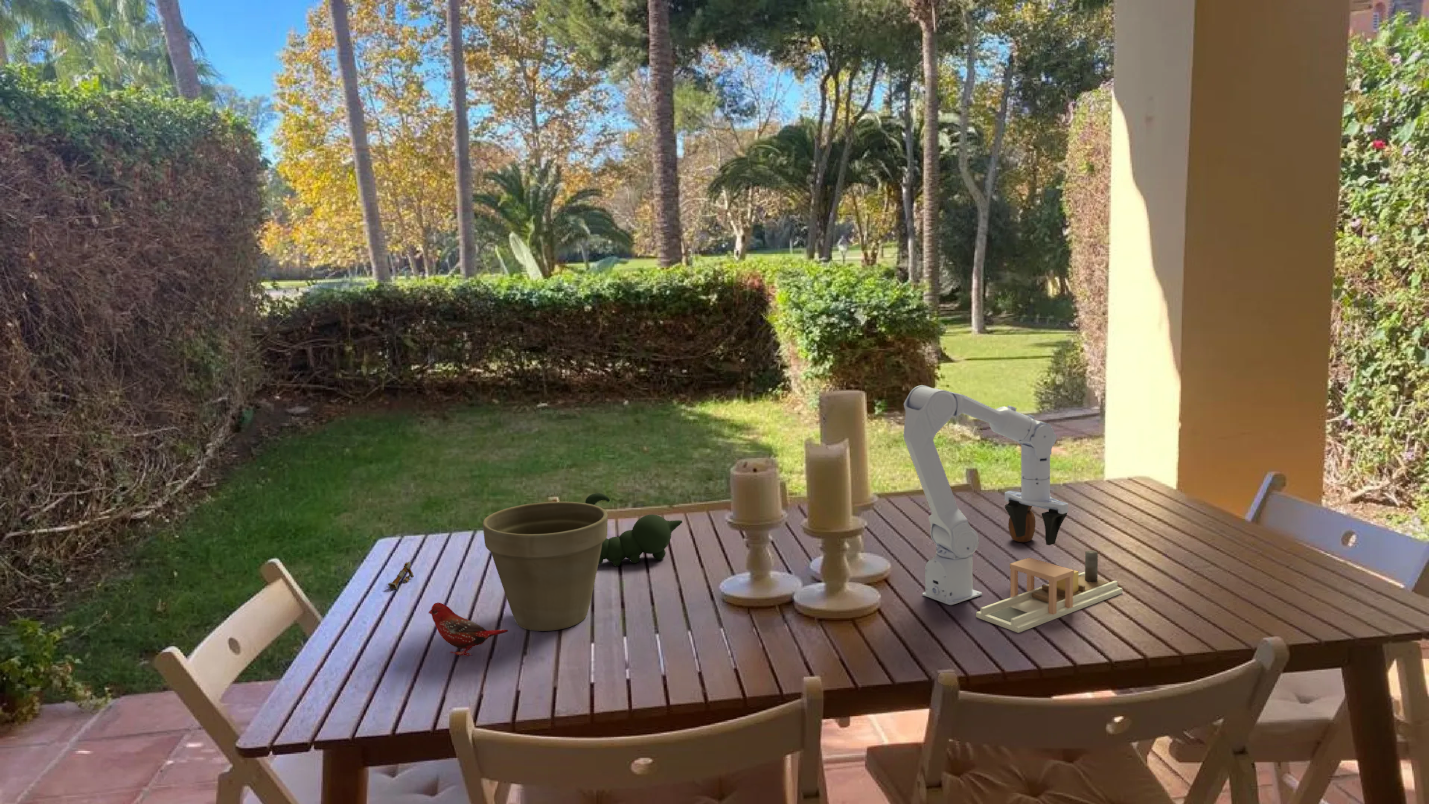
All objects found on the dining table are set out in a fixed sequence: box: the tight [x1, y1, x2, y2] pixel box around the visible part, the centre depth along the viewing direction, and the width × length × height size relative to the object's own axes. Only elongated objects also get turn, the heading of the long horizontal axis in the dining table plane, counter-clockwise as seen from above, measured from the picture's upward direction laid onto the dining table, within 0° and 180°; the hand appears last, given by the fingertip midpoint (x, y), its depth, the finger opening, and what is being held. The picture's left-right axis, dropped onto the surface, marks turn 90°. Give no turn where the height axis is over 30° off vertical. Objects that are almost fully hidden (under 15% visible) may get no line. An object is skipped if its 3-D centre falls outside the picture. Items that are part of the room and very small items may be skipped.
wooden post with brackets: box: [387, 561, 415, 590], centre depth 216 cm, size 2×8×4 cm, turn 163°
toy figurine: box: [584, 492, 683, 567], centre depth 223 cm, size 9×19×25 cm
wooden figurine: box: [1007, 506, 1037, 543], centre depth 225 cm, size 7×6×15 cm
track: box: [975, 557, 1123, 634], centre depth 184 cm, size 32×10×8 cm, turn 123°
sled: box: [1032, 549, 1109, 603], centre depth 187 cm, size 16×6×7 cm, turn 123°
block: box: [1057, 566, 1079, 592], centre depth 186 cm, size 4×4×4 cm
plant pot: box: [482, 501, 609, 632], centre depth 188 cm, size 25×25×22 cm
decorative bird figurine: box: [428, 602, 509, 657], centre depth 172 cm, size 3×18×10 cm, turn 69°
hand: (1035, 540), depth 195 cm, fingers open, 7 cm apart
